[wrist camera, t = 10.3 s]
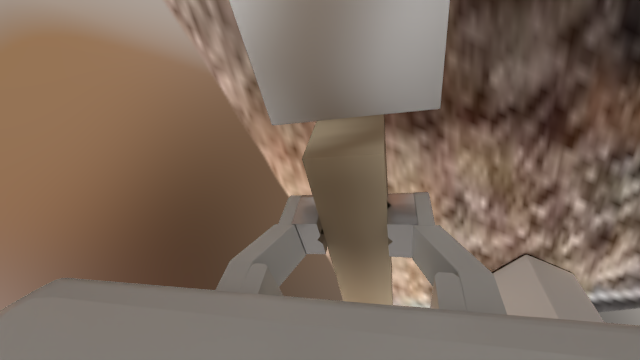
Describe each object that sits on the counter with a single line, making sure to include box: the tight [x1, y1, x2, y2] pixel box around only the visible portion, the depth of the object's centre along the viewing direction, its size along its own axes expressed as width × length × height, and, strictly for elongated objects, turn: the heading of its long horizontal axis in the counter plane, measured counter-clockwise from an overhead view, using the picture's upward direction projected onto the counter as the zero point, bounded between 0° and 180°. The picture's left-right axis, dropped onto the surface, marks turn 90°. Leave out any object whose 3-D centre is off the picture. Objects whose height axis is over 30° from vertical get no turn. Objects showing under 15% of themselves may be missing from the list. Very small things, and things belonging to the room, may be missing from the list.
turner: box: [229, 0, 450, 305], centre depth 10 cm, size 6×17×3 cm, turn 11°
